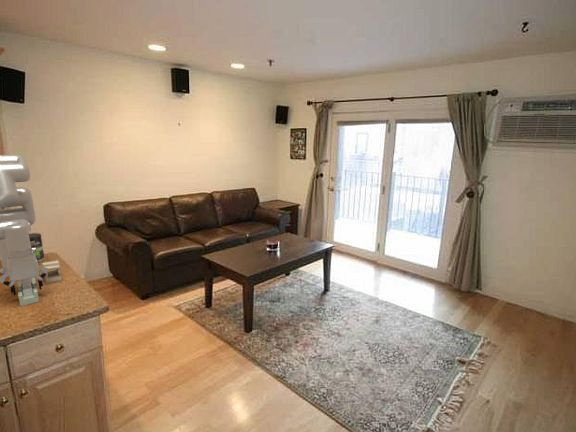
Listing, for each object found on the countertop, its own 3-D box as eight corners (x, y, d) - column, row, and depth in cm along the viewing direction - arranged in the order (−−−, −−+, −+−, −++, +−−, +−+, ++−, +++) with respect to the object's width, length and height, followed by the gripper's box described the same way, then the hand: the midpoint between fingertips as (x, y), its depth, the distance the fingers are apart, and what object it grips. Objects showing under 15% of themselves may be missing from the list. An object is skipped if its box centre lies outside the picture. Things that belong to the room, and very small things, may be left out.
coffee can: (47, 260, 182) (43, 235, 178) (23, 265, 174) (19, 240, 171) (42, 255, 188) (38, 231, 185) (20, 260, 181) (15, 235, 177)
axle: (22, 283, 149) (21, 277, 148) (31, 281, 150) (29, 275, 150) (24, 296, 137) (22, 290, 136) (33, 294, 139) (31, 288, 138)
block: (44, 277, 161) (42, 262, 159) (59, 273, 165) (57, 259, 163) (46, 284, 153) (43, 269, 151) (62, 280, 157) (59, 266, 155)
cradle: (19, 290, 147) (17, 281, 146) (36, 286, 151) (34, 277, 150) (20, 306, 134) (18, 296, 133) (39, 301, 138) (37, 291, 137)
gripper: (45, 246, 144) (51, 282, 149) (-7, 254, 134) (1, 293, 138) (46, 251, 139) (53, 288, 143) (-8, 260, 128) (1, 300, 132)
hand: (27, 290), depth 140 cm, fingers open, 8 cm apart
